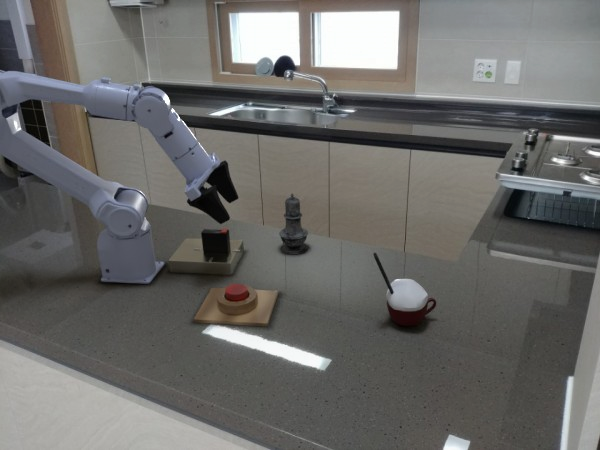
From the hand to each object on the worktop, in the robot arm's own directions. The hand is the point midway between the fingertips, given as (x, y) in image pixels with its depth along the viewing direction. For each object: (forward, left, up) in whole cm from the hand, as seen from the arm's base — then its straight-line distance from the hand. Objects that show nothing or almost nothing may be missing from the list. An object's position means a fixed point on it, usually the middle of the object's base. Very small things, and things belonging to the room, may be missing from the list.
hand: (229, 210), depth 99 cm
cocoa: (+31, -16, -12) cm, 37 cm away
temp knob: (-4, +1, -9) cm, 10 cm away
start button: (+4, -15, -9) cm, 18 cm away
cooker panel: (-6, +1, -11) cm, 13 cm away
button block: (+4, -15, -11) cm, 19 cm away
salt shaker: (+10, +8, -12) cm, 18 cm away
